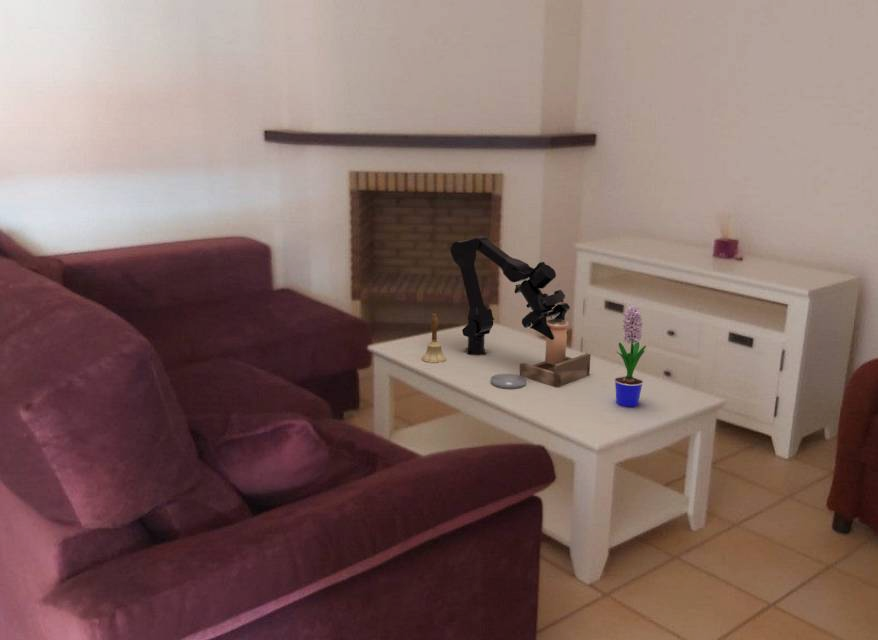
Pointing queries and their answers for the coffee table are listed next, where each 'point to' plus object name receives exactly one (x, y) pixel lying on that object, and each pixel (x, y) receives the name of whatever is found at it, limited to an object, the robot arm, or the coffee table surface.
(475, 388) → the coffee table surface
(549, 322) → the pot
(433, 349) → the hand bell
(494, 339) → the coffee table surface
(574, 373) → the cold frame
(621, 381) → the hyacinth
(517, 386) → the saucer
